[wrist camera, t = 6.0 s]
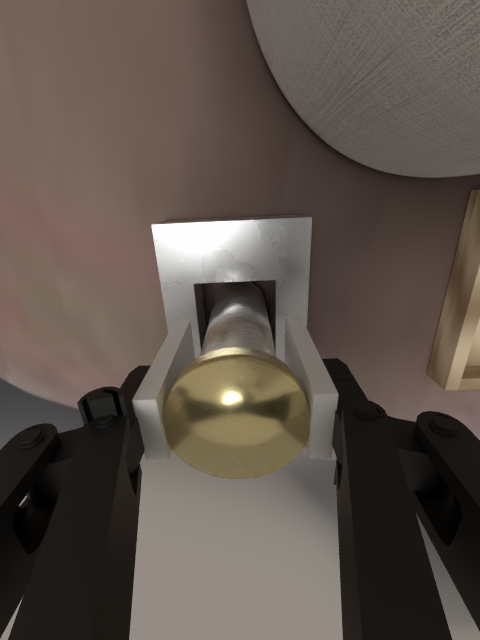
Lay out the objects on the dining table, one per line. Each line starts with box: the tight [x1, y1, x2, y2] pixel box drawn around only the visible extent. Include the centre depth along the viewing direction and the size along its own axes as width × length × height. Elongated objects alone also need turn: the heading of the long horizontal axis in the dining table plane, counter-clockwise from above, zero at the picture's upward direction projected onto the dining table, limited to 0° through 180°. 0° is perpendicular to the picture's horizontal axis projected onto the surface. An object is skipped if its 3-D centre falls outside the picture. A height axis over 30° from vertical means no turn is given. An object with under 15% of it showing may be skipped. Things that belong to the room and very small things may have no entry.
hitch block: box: [152, 214, 312, 363], centre depth 20 cm, size 12×9×4 cm
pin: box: [162, 281, 311, 479], centre depth 15 cm, size 5×5×12 cm
